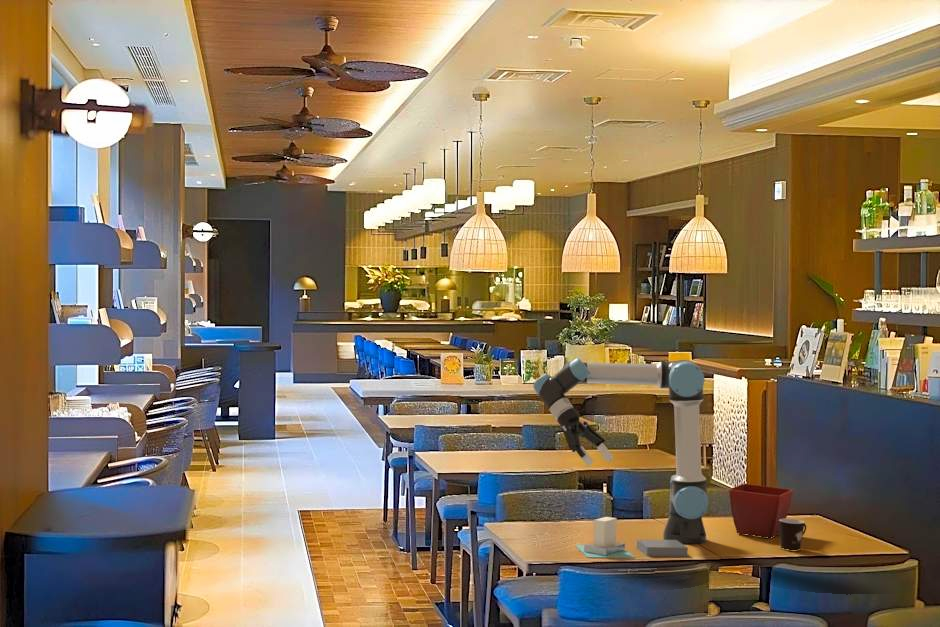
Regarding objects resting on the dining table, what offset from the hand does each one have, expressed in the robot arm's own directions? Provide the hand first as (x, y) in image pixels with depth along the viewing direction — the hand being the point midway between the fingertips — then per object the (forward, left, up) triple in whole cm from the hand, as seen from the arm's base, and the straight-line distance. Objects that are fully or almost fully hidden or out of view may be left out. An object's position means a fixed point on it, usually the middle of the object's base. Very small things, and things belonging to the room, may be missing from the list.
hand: (600, 462), depth 407 cm
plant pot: (-27, +68, -30) cm, 79 cm away
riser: (+4, +21, -30) cm, 37 cm away
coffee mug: (-2, +71, -30) cm, 77 cm away
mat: (+4, +1, -30) cm, 30 cm away
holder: (+4, +1, -30) cm, 30 cm away
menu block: (+4, +1, -29) cm, 29 cm away
